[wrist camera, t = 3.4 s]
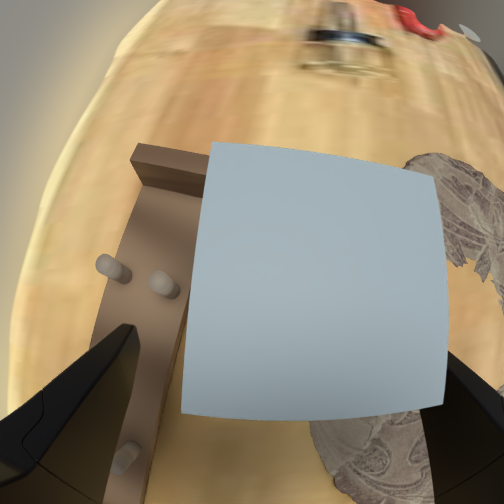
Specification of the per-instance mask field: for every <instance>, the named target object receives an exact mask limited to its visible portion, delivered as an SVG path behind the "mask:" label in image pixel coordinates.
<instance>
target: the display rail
mask: <svg viewBox="0 0 504 504" xmlns="http://www.w3.org/2000/svg"><path fill="white" fill-rule="evenodd" d="M209 157H210V156H207V155H203V154H198V153H193V152H187V151H182V150H177V149H171V148H166V147H160V146H154V145H148V144H141V143H138V144H137V146H136V148H135V150H134V152H133V154H132V156H131V158H130V162H131V164H132V166H133V167H134V169H135V171H136V173H137V175H138V177H139V178H140V180H141V182H142V184H143V187H142V189H141V191H140V194H139V196H138V198H137V201H136V203H135V206H134V208H133V211H132V213H131V216H130V218H129V221H128V223H127V226H126V229H125V231H124V234H123V237H122V239H121V242H120V245H119V248H118V251H117V254H116V256H115V259H114V258H113V257H111V256H110V255H108V254H102V255H101V256H99V257H98V259H97V261H96V269H97V271H98V272H99V273H101V274H103V275H105V276H107V277H109V278H108V281H107V284H106V287H105V291H104V294H103V297H102V301H101V304H100V308H99V311H98V315H97V319H96V323H95V326H94V330H93V334H92V338H91V343H90V347H89V350H90V349H91V348H92V347H93V346H95V345H96V344H97V343H98V342H99V341H101V340H102V339H103V338H104V337H106V336H107V335H108V334H109V333H111V332H112V331H113V330H114V329H116V328H117V327H118V326H119V325H121V324H122V323H127V324H133V325H135V326H136V327H137V331H138V336H139V340H140V345H141V348H140V354H139V359H138V364H137V369H136V374H135V380H134V385H133V390H132V395H131V398H130V402H129V405H128V408H127V412H126V415H125V418H124V422H123V425H122V429H121V432H120V436H119V439H118V443H117V447H116V451H115V454H114V458H113V462H112V466H111V470H110V474H109V478H108V482H107V486H106V491H105V495H104V500H103V504H144V498H145V493H146V487H147V482H148V477H149V472H150V467H151V462H152V458H153V453H154V448H155V443H156V439H157V434H158V430H159V425H160V421H161V417H162V412H163V408H164V404H165V400H166V396H167V391H168V387H169V383H170V379H171V375H172V371H173V367H174V363H175V360H176V356H177V352H178V348H179V344H180V340H181V337H182V333H183V329H184V326H185V322H186V318H187V315H188V310H189V300H190V291H191V282H192V273H193V265H194V257H195V249H196V241H197V234H198V227H199V220H200V213H201V206H202V199H203V193H204V187H205V180H206V174H207V168H208V163H209Z"/></svg>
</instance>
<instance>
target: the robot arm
mask: <svg viewBox="0 0 504 504" xmlns="http://www.w3.org/2000/svg"><path fill="white" fill-rule="evenodd" d="M140 348H141V345H140V340H139V336H138V331H137V327H136V326H135V325H133V324H127V323H122V324H121V325H119V326H118V327H117V328H116V329H114V330H113V331H112V332H111V333H109V334H108V335H107V336H106V337H104V338H103V339H102V340H101V341H99V342H98V343H97V344H96V345H95V346H93V347H92V348H91V349H90V350H88V351H87V352H86V353H85V354H83V355H82V356H81V357H80V358H79V359H77V360H76V361H75V362H74V363H73V364H71V365H70V366H69V367H68V368H67V369H65V370H64V371H63V372H62V373H61V374H59V375H58V376H57V377H56V378H55V379H53V380H52V381H51V382H50V383H49V384H47V385H46V386H45V387H44V388H43V389H42V390H40V391H39V392H38V393H37V394H35V395H34V396H33V397H32V398H31V399H29V400H28V401H27V402H26V403H24V404H23V405H22V406H21V407H19V408H18V409H16V410H15V411H14V412H12V413H11V414H10V415H8V416H7V417H5V418H4V419H2V420H1V421H0V504H103V500H104V495H105V491H106V486H107V482H108V478H109V474H110V470H111V466H112V462H113V458H114V454H115V451H116V447H117V443H118V439H119V436H120V432H121V429H122V425H123V422H124V418H125V415H126V412H127V408H128V405H129V402H130V398H131V395H132V390H133V385H134V380H135V374H136V369H137V364H138V359H139V354H140ZM419 411H420V416H421V420H422V425H423V430H424V435H425V440H426V445H427V451H428V457H429V463H430V470H431V477H432V484H433V492H434V503H435V504H504V397H503V396H500V394H499V393H498V392H497V391H496V390H495V389H493V388H492V387H491V386H490V385H489V384H488V383H487V382H485V381H484V380H483V379H482V378H481V377H479V376H478V375H477V374H476V373H475V372H474V371H472V370H471V369H470V368H469V367H468V366H466V365H465V364H464V363H463V362H461V361H460V360H459V359H458V358H457V357H455V356H454V355H453V354H452V353H451V352H449V351H448V356H447V370H446V381H445V390H444V399H443V404H441V405H437V406H432V407H427V408H422V409H419Z"/></svg>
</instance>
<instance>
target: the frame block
mask: <svg viewBox="0 0 504 504" xmlns="http://www.w3.org/2000/svg"><path fill="white" fill-rule="evenodd" d="M448 331H449V306H448V280H447V266H446V255H445V245H444V237H443V229H442V222H441V215H440V209H439V203H438V198H437V193H436V188H435V183H434V178H433V176H429V175H426V174H422V173H418V172H414V171H410V170H405V169H401V168H397V167H392V166H388V165H383V164H378V163H374V162H369V161H364V160H358V159H353V158H347V157H342V156H336V155H330V154H323V153H317V152H310V151H303V150H295V149H288V148H279V147H270V146H260V145H250V144H238V143H224V142H212V146H211V151H210V157H209V163H208V168H207V174H206V180H205V187H204V193H203V199H202V206H201V213H200V220H199V227H198V234H197V241H196V249H195V257H194V265H193V273H192V282H191V291H190V300H189V310H188V320H187V331H186V342H185V355H184V368H183V383H182V400H181V413H184V414H191V415H199V416H208V417H218V418H229V419H244V420H265V421H313V420H334V419H348V418H360V417H369V416H378V415H385V414H392V413H399V412H405V411H411V410H417V409H422V408H427V407H432V406H437V405H441V404H443V399H444V390H445V381H446V370H447V356H448Z"/></svg>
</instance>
